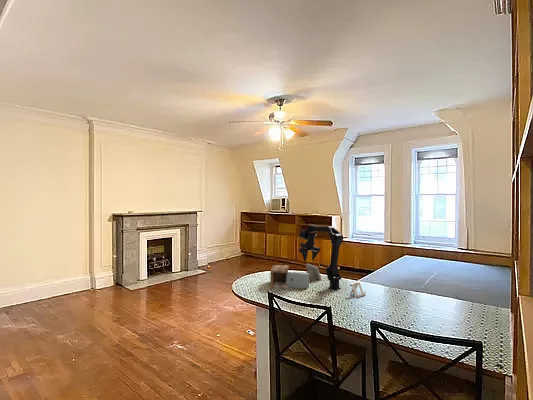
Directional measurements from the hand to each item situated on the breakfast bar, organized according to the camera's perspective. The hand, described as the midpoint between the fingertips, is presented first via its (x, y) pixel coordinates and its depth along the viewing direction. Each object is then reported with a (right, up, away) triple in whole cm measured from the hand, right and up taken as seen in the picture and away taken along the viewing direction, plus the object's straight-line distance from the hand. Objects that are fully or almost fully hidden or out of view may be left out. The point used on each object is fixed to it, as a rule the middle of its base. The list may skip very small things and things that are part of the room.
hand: (308, 260), depth 247 cm
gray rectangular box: (-10, -16, -16) cm, 25 cm away
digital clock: (+5, -16, +9) cm, 19 cm away
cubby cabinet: (-22, -16, -10) cm, 29 cm away
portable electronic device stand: (+28, -17, -34) cm, 47 cm away
